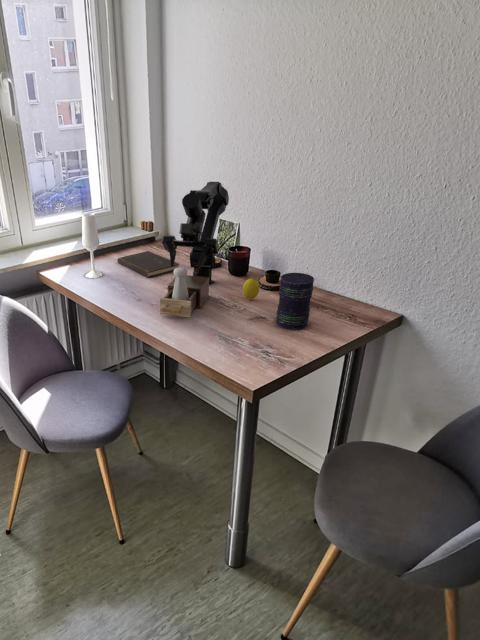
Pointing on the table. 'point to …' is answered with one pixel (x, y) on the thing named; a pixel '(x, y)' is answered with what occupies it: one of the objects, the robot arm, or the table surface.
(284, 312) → the storage jar
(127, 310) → the table surface
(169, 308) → the drawer
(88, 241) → the champagne flute
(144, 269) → the hardcover book
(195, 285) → the cabinet
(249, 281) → the lemon
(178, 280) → the white bowling pin
